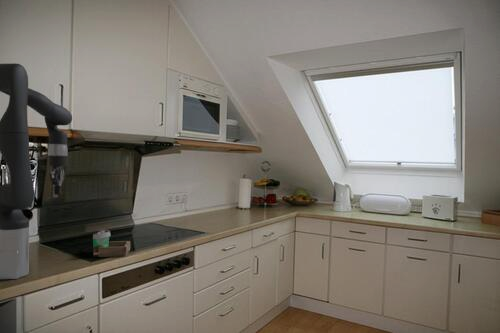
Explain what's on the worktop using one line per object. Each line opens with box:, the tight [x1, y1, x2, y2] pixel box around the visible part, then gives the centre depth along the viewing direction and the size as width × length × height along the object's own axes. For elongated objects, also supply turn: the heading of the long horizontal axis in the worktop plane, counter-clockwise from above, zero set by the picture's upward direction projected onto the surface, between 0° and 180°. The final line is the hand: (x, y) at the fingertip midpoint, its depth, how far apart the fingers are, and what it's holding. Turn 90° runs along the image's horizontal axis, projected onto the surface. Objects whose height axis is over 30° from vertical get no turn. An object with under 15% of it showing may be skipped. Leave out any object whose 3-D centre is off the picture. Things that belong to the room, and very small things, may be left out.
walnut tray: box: [97, 240, 131, 258], centre depth 158 cm, size 12×12×4 cm
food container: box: [92, 228, 111, 257], centre depth 157 cm, size 12×6×10 cm, turn 12°
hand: (57, 194), depth 152 cm, fingers closed
